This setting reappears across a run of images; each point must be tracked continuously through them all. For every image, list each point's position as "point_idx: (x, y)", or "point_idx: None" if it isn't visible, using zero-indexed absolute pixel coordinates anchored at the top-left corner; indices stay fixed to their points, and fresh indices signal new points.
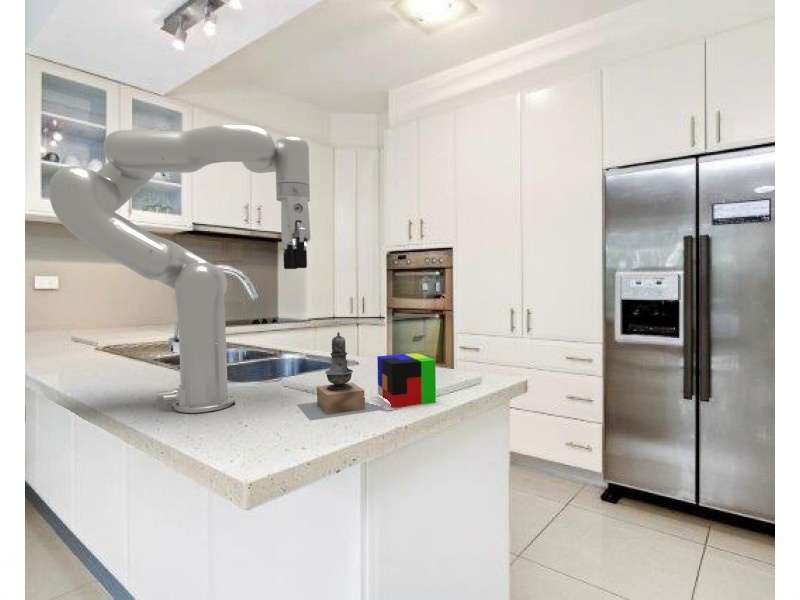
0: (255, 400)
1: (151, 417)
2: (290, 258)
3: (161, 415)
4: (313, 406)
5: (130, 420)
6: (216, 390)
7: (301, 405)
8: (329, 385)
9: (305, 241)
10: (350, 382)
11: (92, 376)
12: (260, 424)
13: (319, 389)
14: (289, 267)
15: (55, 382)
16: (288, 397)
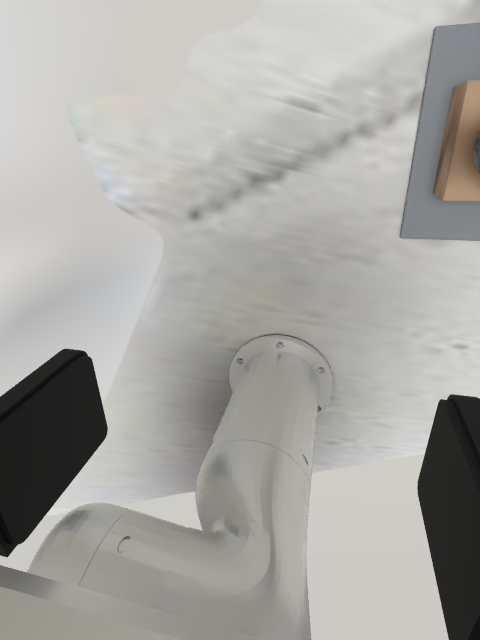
0: (290, 299)
1: None
2: (45, 459)
3: None
4: (443, 206)
5: None
6: (313, 387)
7: (415, 230)
8: (459, 164)
9: (99, 636)
10: (467, 86)
11: None
12: (471, 325)
13: (474, 200)
14: (98, 411)
15: None
16: (302, 233)
